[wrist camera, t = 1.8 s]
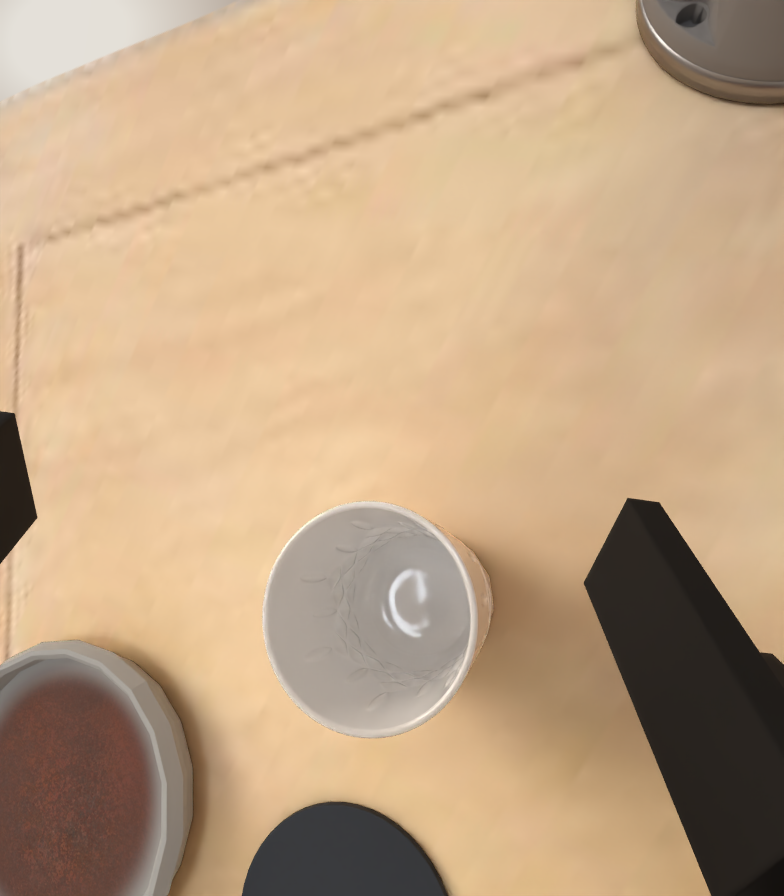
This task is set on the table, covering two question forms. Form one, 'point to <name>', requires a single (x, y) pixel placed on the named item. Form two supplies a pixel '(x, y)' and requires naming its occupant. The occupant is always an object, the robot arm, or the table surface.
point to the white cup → (374, 618)
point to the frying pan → (89, 776)
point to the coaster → (341, 857)
